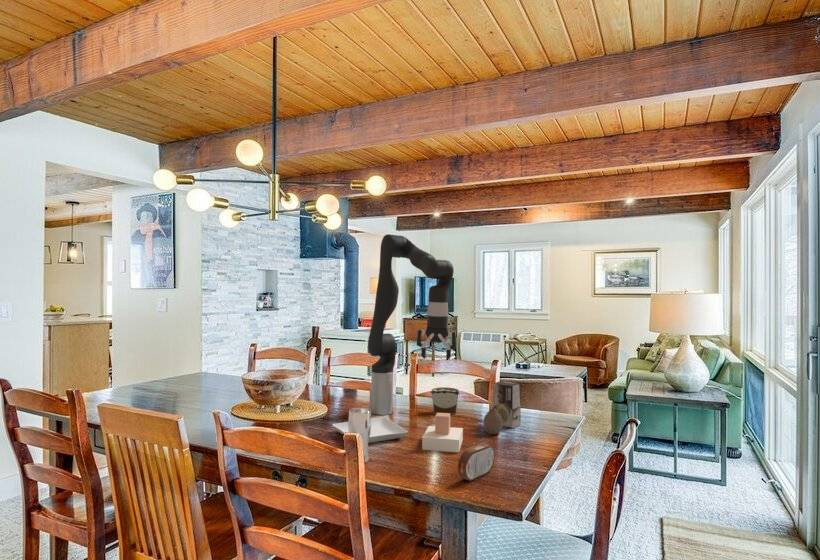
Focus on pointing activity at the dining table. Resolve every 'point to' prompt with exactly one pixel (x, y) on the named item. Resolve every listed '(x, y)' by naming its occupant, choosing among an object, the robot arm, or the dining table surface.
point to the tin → (476, 461)
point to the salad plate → (377, 429)
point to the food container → (445, 400)
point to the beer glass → (361, 426)
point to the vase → (492, 422)
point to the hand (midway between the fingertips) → (435, 359)
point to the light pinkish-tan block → (442, 423)
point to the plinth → (442, 440)
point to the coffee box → (508, 402)
